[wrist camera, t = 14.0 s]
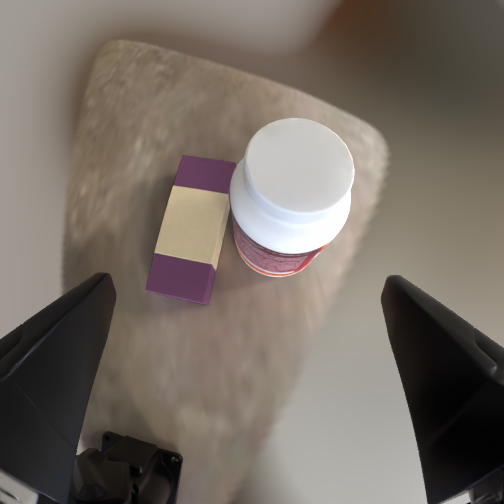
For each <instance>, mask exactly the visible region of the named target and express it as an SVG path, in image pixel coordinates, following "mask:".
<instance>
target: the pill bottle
mask: <svg viewBox="0 0 504 504" xmlns="http://www.w3.org/2000/svg"><path fill="white" fill-rule="evenodd" d="M353 180H354V164H353V159H352V156H351V154H350V152H349V150H348V148H347V146H346V145H345V143H344V142H343V141H342V140H341V138H340V137H339V136H338V135H337V134H335V133H334V132H333V131H332V130H330V129H329V128H327V127H325V126H324V125H322V124H320V123H317V122H314V121H311V120H307V119H300V118H286V119H281V120H277V121H274V122H272V123H269V124H267V125H265V126H264V127H262V128H261V129H260V130H258V131H257V132H256V133H255V135H254V136H253V137H252V138H251V140H250V142H249V143H248V146H247V148H246V151H245V156H244V157H243V158H242V159H241V161H240V162H239V164H238V165H237V167H236V169H235V171H234V173H233V176H232V179H231V184H230V205H231V213H232V222H233V231H234V239H235V243H236V246H237V249H238V252H239V254H240V256H241V257H242V259H243V260H244V261H245V262H246V264H247V265H248V266H250V267H251V268H252V269H254V270H255V271H257V272H259V273H261V274H264V275H267V276H272V277H284V276H289V275H292V274H295V273H297V272H299V271H301V270H302V269H303V268H305V267H306V266H307V265H308V264H309V263H310V262H311V261H312V260H313V259H314V258H315V257H316V256H317V255H318V254H319V253H320V252H321V251H322V250H323V249H324V248H325V247H326V245H327V244H328V243H329V242H330V241H331V240H332V239H333V238H334V237H335V236H336V235H337V234H338V232H339V231H340V230H341V228H342V227H343V225H344V223H345V221H346V219H347V216H348V213H349V209H350V200H351V197H350V189H351V187H352V184H353Z"/></svg>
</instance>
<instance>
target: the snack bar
mask: <svg viewBox="0 0 504 504" xmlns="http://www.w3.org/2000/svg"><path fill="white" fill-rule="evenodd" d="M235 169H236V163H234V162H227V161H221V160H214V159H207V158H200V157H192V156H185V155H183V156H182V159H181V162H180V166H179V169H178V172H177V175H176V178H175V181H174V185H173V187H172V190H171V194H170V197H169V200H168V204H167V207H166V211H165V214H164V218H163V221H162V225H161V228H160V232H159V236H158V240H157V243H156V247H155V251H154V256H153V260H152V264H151V268H150V272H149V277H148V281H147V285H146V290H147V291H150V292H153V293H156V294H160V295H164V296H168V297H173V298H177V299H182V300H186V301H190V302H195V303H200V304H204V305H209V300H210V296H211V291H212V286H213V281H214V277H215V272H216V269H217V264H218V259H219V255H220V250H221V246H222V241H223V237H224V232H225V228H226V224H227V219H228V215H229V210H230V184H231V179H232V176H233V173H234V171H235Z"/></svg>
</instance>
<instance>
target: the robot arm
mask: <svg viewBox="0 0 504 504" xmlns="http://www.w3.org/2000/svg"><path fill="white" fill-rule="evenodd" d="M115 302H116V291H115V288H114V285H113V281H112V278H111V275H110V274H109V273H96V274H95V275H93V276H92V277H90V278H89V279H87V280H86V281H84V282H83V283H81V284H79V285H78V286H76V287H75V288H73V289H72V290H70V291H69V292H67V293H66V294H64V295H63V296H61V297H60V298H58V299H57V300H56V301H54V302H53V303H51V304H50V305H48V306H47V307H46V308H44V309H42V310H41V311H40V312H38V313H37V314H35V315H34V316H32V317H31V318H30V319H28V320H27V321H25V322H24V323H23V324H21V325H20V326H18V327H17V328H16V329H14V330H13V331H11V332H10V333H9V334H7V335H6V336H4V337H3V338H1V339H0V504H176V501H177V495H178V488H179V482H180V476H181V469H182V463H183V457H182V456H181V455H180V454H178V453H175V452H171V451H168V450H164V449H161V448H158V447H157V446H156V445H154V444H150V443H147V442H144V441H141V440H138V439H135V438H132V437H129V436H125V437H124V436H121V435H118V434H116V433H113V432H110V431H107V432H105V433H104V434H103V437H102V451H101V452H100V451H99V450H97V449H93V448H88V449H86V450H85V451H84V452H82V453H81V454H80V455H76V452H77V450H76V449H77V447H78V442H79V438H80V433H81V429H82V425H83V421H84V417H85V413H86V409H87V405H88V401H89V397H90V394H91V390H92V386H93V383H94V379H95V376H96V373H97V369H98V366H99V363H100V359H101V356H102V353H103V350H104V347H105V344H106V340H107V337H108V333H109V328H110V323H111V319H112V314H113V310H114V306H115ZM381 304H382V308H383V313H384V317H385V322H386V327H387V332H388V336H389V340H390V344H391V347H392V351H393V353H394V357H395V360H396V364H397V367H398V371H399V374H400V377H401V381H402V384H403V388H404V392H405V396H406V400H407V404H408V407H409V411H410V415H411V419H412V423H413V428H414V432H415V437H416V441H417V446H418V451H419V457H420V461H421V467H422V472H423V478H424V483H425V490H426V496H427V503H428V504H442V503H444V502H447V501H449V500H452V499H454V498H456V497H458V496H461V495H463V494H465V493H467V492H468V493H469V497H470V501H471V502H469V503H467V504H504V348H503V347H502V346H500V345H499V344H497V343H496V342H494V341H493V340H491V339H490V338H489V337H487V336H486V335H484V334H483V333H482V332H480V331H479V330H478V329H476V328H474V327H473V326H472V325H471V324H469V323H468V322H467V321H465V320H464V319H462V318H461V317H460V316H458V315H457V314H456V313H454V312H453V311H451V310H450V309H448V308H447V307H445V306H444V305H443V304H441V303H440V302H438V301H437V300H435V299H434V298H433V297H431V296H430V295H428V294H427V293H425V292H424V291H422V290H421V289H419V288H418V287H417V286H415V285H413V284H412V283H411V282H409V281H408V280H406V279H404V278H403V277H402V276H400V275H390V276H388V277H387V279H386V282H385V285H384V288H383V291H382V295H381ZM107 436H110V438H111V440H110V439H108V437H107ZM173 458H177V459H178V460H179V461H175V460H174V459H173Z"/></svg>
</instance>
